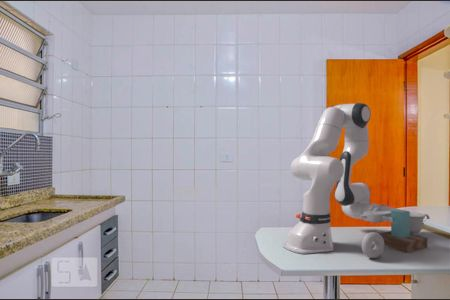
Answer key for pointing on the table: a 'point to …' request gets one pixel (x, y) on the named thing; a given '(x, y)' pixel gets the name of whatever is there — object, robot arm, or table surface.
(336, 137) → the robot arm
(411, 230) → the teacup
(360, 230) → the table surface
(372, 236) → the donut
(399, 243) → the oak base
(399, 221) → the teal block
